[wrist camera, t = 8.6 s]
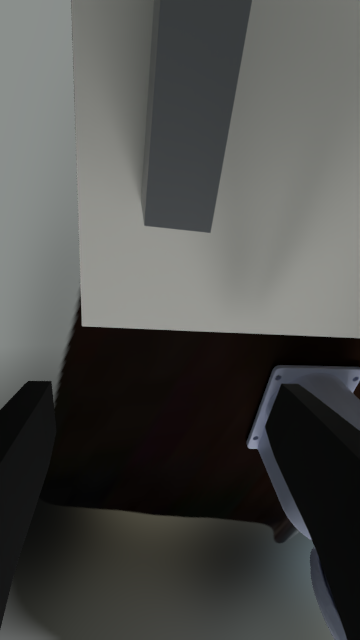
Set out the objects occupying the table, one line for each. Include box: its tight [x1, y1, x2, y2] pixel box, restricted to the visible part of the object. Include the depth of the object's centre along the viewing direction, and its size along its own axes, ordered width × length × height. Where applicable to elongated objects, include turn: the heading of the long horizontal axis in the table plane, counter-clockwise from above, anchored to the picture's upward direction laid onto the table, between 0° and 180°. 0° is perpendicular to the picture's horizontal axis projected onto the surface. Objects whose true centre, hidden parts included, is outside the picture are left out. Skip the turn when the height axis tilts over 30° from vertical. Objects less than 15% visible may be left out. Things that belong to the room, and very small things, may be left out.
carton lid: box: [71, 0, 360, 338], centre depth 8 cm, size 14×14×4 cm
